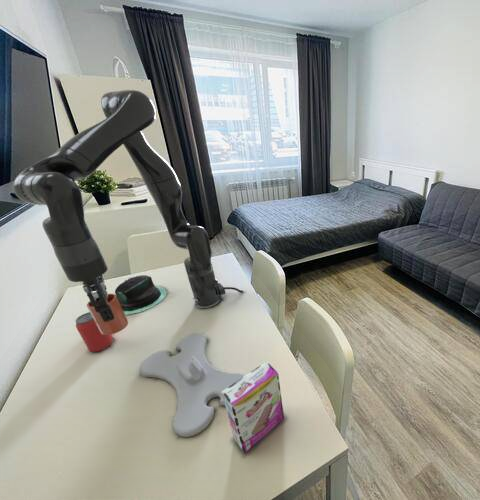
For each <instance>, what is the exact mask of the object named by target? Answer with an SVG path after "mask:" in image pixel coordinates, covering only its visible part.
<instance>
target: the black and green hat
mask: <svg viewBox="0 0 480 500" xmlns="http://www.w3.org/2000/svg"><path fill="white" fill-rule="evenodd" d="M114 294H115V295H116V296H117V298H118V301H119V303H120V305H121V307H122V309H123V312H124V314H125V316H128V315H133V314H138V313H141V312H144V311H147V310H148V309H151V308H153V307H155V306H156V305H158V304H159V303H160V302H162V301H163V300H164V299H165V298H166V295H167V290H166V289H165V288H164V287H162V286H160V285H159V286H158V285H155V284H154V281H153V277H152V276H149V275H145V274H141V275H136V276H133V277H128V279H125V280H124V281H123V282H121V283H119V284H118V285H117V286H116V288H115V290H114Z"/></svg>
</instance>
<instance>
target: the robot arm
mask: <svg viewBox="0 0 480 500" xmlns="http://www.w3.org/2000/svg"><path fill="white" fill-rule="evenodd" d="M100 105H101V109H102V111H103V114H104V116H105V119H103V120H102V121H99V122H97V123H96V124H94V125H91V126H89V127H88V128H86V129H84V130H82V131H79V132H78V133H77V134H76V135H74V136H71V138H70V139H69V140H67V141H66V142H65V143H64V144H63V145H62V146H61V147H59V148H58V149H57V150H56V151H55V152H54V153H53V154H51V155H49V156H47V157H45V158H43V159H41V160H39V161H37V162H35V163H34V164H32V165H30V166H28V167H26V168H25V169H23V170H22V171H21V172H20V173H19V174H18V175H17V176H16V177H15V179H14V181H13V185H12V189H13V192H14V194H15V196H16V197H17V198H18V199H19V200H20V201H23V202H24V203H27V204H30V205H35V206H46V207H47V210H48V213H49V216H48V217H47V218H45V219H44V220H43V221H42V229H43V231H44V233H45V235H46V237H47V238H48V240H49V242H50V244H51V247H52V250H53V251H54V255H55V257H56V259H57V261H58V262H59V265H60V266H61V269H62V270H63V272H64V274H65V276H66V278H67V280H68V281H69V282H72V283H82V285H83V286H82V289H83V291H84V293H86V296H87V297H88V299H89V301H90V302H91V303H92V304H93V306H94V308H95V311H96V312H99V313H100V315H101V317H102V319H103V321H104V322H107V321H110V320H113V319H114V315H113V313H112V311H111V308H110V304H109V303H108V301H107V298H108V294H109V293H108V291H107V289H108V288H107V286H106V284H105V279H104V277H103V276H102V275H105V273H107V271H108V268H109V267H108V266H107V263H106V261H105V259H104V257H103V254H102V252H101V250H100V248H99V245H98V244H97V242H96V240H95V239H94V237H93V235H92V232H91V231H90V229H89V226H88V224H87V222H86V219H85V209H84V201H83V194H82V191H81V189H80V187H79V185H78V184H77V182H76V181H79V180H84V179H87V178H88V177H90V176H92V175H93V174H94V173H95V172H96V171H97V169H98V168H100V167H101V165H102V164H103V163H104V162H105V161H106V160H107V159H108V158H109V157H110V156H111V155H112V154H113V153H114V152H115V151H117V150H118V149H119V148H120V147H121V146H124V148H125V149H126V151H127V154H128V155H129V156H130V158H131V160H132V162H133V164H134V166H135V167H136V169H137V171H138V173H139V175H140V177H141V178H142V181H143V183H144V185H145V186H146V188H147V191H148V192H149V195H150V196H151V198H152V200H153V201H154V203H155V205H156V206H157V207H156V208H157V209H158V211H159V214H160V215H161V217H162V220H163V221H164V224H165V226H166V229H167V232H168V235H169V237H170V239H171V241H172V243H173V245H175V247H177V248H179V249H182V250H187V251H188V255H189V256H188V257H186V258H185V259H184V261H183V265H184V268H185V272H186V275H187V279H188V282H189V285H190V289H191V292H192V299H193V300H194V303H195V306H196V307H197V308H199V309H209V308H212V307H215V306H216V305H218V304H219V303H220V302H221V301H223V298H222V297H223V295H226V294H227V292H226V290H233V291H237V292H238V293H242V294H243V293H244V290H241V289H239V288H237V287H234V286H223V285H222V284H221V283H220V282H219V281H218V280H217V278H216V275H215V271H214V268H213V263H212V249H211V243H210V237H209V234H208V232H207V230H206V229H205V228H204V227H203V226H200V225H196V224H195V225H194V224H190V223H189V222H188V221H187V219H186V217H185V215H184V213H183V209H182V201H183V200H182V199H183V189H182V186H181V182H180V181H179V178H178V176H177V174H176V172H175V170H174V168H173V167H172V166H171V165H170V164H169V162H167V160H165V159H164V158H163V157H162V155H160V154H159V153H158V152H157V151H156V150H155V149H154V148H153V147H152V146H151V145H150V143H149V142H148V140H147V139H146V137H145V135H144V133H143V132H142V131H144V130H145V129H147V128H148V127H150V126H151V125H152V124H153V123H154V122H155V120H156V115H157V113H156V112H157V111H156V108H155V107H156V106H155V105H154V103H153V101H152V100H151V99H150V97H149V96H148V95H146V94H145V93H143V92H142V91H140V90H135V89H124V90H117V91H108V92H105V93H104V94H102V96H101V100H100ZM100 303H104V304H103V305H100V306H98V304H100Z"/></svg>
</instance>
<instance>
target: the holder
mask: <svg viewBox="0 0 480 500" xmlns="http://www.w3.org/2000/svg"><path fill="white" fill-rule="evenodd" d="M207 342H208V340H207V336H206V335H204V334H203V333H201V332H195V333H194V332H193V333H190V334H187V335H185V336H184V337H182V338H180V340H178V342H177V343H176V345H175V350H176V351H180V352H179V353H177V354H175V355H173V356H171V355H172V351H171V350H168V349H165V350H164V349H163V350H159V351H156V352H153V353H151V354H150V355H148V356H147V357H146V358H145V359H143V361H142V362H141V363H140V366H139V372H140V374H141V375H142V376H143V377H145V378H156V379H161V380H164V381H166V382H168V383H169V384H170V385H171V386H172V387H173V388H174V389H175V391H176V394H177V395H176V396H177V407H176V411H175V415H174V418H173V420H172V427H173V430H174V432H175V433H176V434H177V436H179V437H182V438H188V437H192V436H196V435H197V434H199V433H201V432H202V431H204V430H205V429H206V428H207V427H208V426H209V425H210V423H211V422H212V420H213V418H214V415H215V407H214V406H208V403H209V401H211V400H213V399H214V398H220V400H219V402H218V403H219V406H224V407H225V403H224V399H223V396H222V391H223V390H225V389H226V388H228V387H229V386H231V385H232V384H234V383H235V382H237V381H238V380H239V379H241V378H242V377H244V376H245V375H244V374H243V373H239V372H227V371H223V370H220V369H217V368H216V367H215V366H213V365H212V364H211V363H210V362H209V361H208V360H207V358H206V357H207V356H206V346H207Z"/></svg>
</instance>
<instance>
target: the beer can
mask: <svg viewBox="0 0 480 500" xmlns="http://www.w3.org/2000/svg"><path fill="white" fill-rule="evenodd" d="M75 328H76V330H77V332H78V334H79V335H80V338H81V339H82V340H83V342H84V344H85V346H86V348H87V350H88V351H89V352H90V353H91V352H92V353H98V352H101V351H104V350H106V349H107V348H109V347H110V346H111V345H112V343H113V342H114V338H113V335H112V334H111V335H103V334H102V333H101V332H100V330H99V328H98V326H97V325H96V323H95V321H94V319H93V317H92V315H91V313H90V311H89V312H86V313H83V314H81V315H79V316H78V317H77V318H76V319H75Z"/></svg>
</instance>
